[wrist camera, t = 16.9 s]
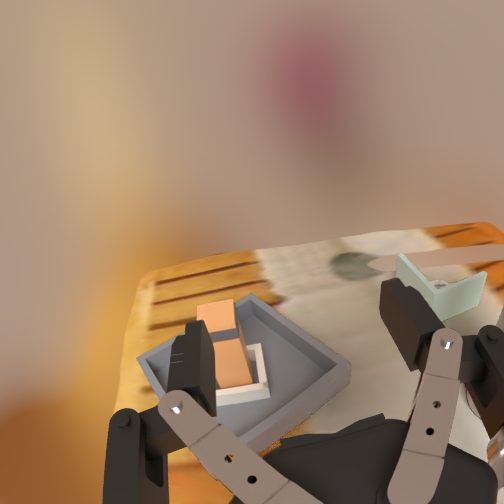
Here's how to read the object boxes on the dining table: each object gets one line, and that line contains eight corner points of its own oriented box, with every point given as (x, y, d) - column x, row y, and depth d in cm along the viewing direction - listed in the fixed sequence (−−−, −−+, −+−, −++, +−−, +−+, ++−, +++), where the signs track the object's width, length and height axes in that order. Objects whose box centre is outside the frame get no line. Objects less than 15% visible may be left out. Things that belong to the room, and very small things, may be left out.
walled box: (255, 312, 57) (251, 292, 55) (349, 382, 40) (350, 363, 38) (147, 375, 48) (136, 358, 45) (216, 480, 31) (205, 468, 29)
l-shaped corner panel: (477, 307, 46) (487, 273, 42) (426, 330, 46) (434, 294, 42) (442, 272, 56) (447, 239, 53) (394, 288, 56) (397, 254, 52)
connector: (221, 370, 46) (196, 304, 39) (252, 365, 45) (233, 298, 39) (222, 394, 42) (195, 330, 35) (255, 389, 42) (235, 323, 35)
